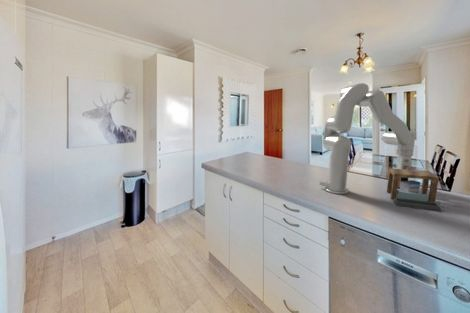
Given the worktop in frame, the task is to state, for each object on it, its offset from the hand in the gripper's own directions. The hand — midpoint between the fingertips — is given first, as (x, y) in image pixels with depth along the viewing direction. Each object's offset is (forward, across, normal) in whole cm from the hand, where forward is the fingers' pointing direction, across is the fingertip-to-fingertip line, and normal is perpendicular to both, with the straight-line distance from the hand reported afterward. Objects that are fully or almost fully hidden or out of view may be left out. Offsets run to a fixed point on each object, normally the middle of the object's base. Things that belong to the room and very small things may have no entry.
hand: (401, 181), depth 126 cm
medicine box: (+4, -18, 0) cm, 18 cm away
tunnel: (+4, -18, 0) cm, 18 cm away
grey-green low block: (+4, -12, 0) cm, 12 cm away
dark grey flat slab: (+4, -30, 0) cm, 30 cm away
